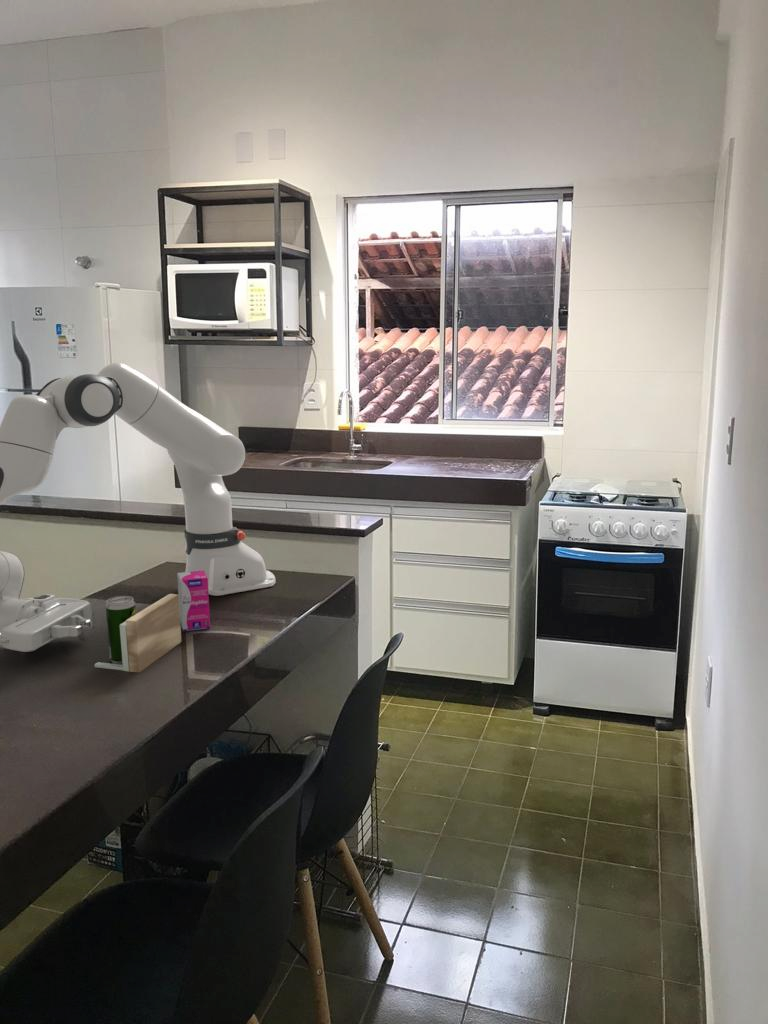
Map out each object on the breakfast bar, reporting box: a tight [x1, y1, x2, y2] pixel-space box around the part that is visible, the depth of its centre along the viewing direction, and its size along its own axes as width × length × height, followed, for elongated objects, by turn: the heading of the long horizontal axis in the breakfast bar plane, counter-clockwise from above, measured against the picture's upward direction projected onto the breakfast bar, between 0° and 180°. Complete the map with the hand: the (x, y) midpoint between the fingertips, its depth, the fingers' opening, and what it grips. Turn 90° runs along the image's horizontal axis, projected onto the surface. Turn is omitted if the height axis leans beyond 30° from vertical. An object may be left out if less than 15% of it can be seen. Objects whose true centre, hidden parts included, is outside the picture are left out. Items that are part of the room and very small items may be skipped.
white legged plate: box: [94, 621, 130, 672], centre depth 161 cm, size 7×10×9 cm
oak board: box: [126, 593, 182, 673], centre depth 162 cm, size 2×16×10 cm, turn 165°
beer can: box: [105, 595, 137, 665], centre depth 160 cm, size 5×5×12 cm
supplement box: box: [176, 571, 211, 632], centre depth 178 cm, size 6×6×12 cm
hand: (84, 627), depth 162 cm, fingers open, 2 cm apart
